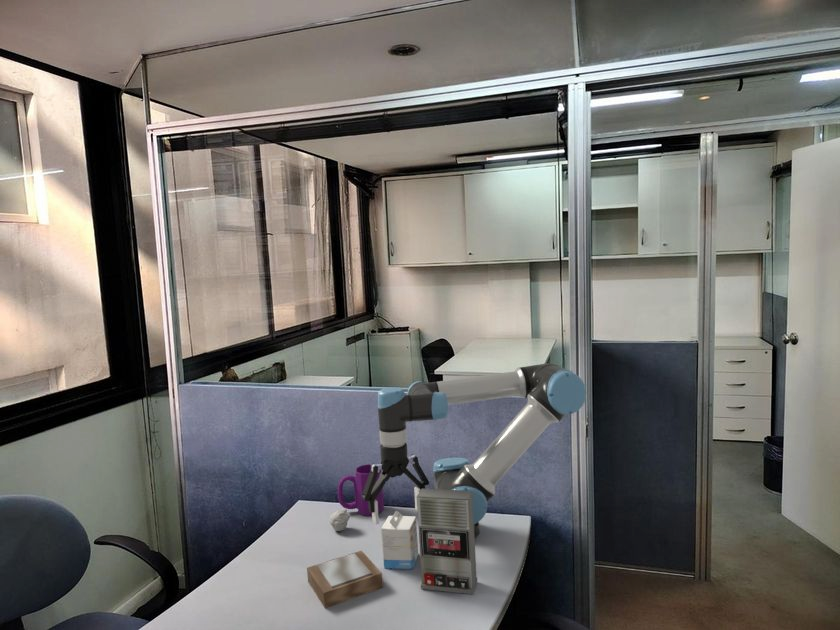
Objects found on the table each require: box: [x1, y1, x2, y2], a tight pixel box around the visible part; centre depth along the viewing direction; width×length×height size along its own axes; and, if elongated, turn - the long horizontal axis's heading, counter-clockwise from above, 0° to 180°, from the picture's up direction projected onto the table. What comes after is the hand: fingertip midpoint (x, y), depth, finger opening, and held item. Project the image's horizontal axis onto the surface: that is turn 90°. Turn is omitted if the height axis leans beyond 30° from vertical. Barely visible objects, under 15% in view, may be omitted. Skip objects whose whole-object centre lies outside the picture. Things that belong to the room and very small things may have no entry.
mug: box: [337, 463, 385, 517], centre depth 194 cm, size 9×16×15 cm, turn 94°
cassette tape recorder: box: [416, 488, 478, 595], centre depth 146 cm, size 14×6×25 cm, turn 75°
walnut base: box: [306, 550, 384, 609], centre depth 150 cm, size 16×14×4 cm
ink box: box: [380, 510, 419, 570], centre depth 160 cm, size 9×8×13 cm
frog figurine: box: [329, 508, 351, 532], centre depth 181 cm, size 6×7×7 cm
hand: (397, 516), depth 160 cm, fingers open, 13 cm apart
